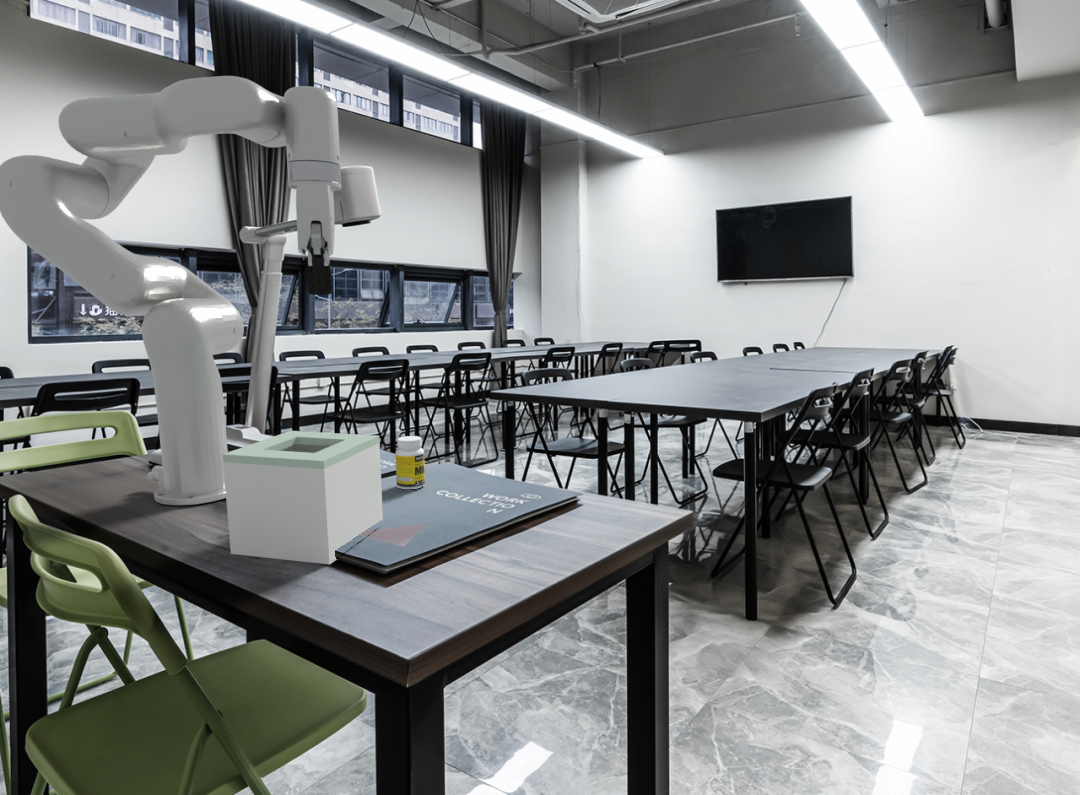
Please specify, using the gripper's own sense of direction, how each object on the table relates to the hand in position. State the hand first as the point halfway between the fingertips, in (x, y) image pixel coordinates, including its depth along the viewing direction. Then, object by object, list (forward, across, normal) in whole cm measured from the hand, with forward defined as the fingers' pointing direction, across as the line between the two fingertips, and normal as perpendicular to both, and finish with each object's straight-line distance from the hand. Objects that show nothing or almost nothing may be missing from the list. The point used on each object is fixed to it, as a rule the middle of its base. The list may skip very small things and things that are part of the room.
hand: (321, 294), depth 102 cm
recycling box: (+32, +18, -2) cm, 37 cm away
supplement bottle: (+32, -2, +13) cm, 35 cm away
